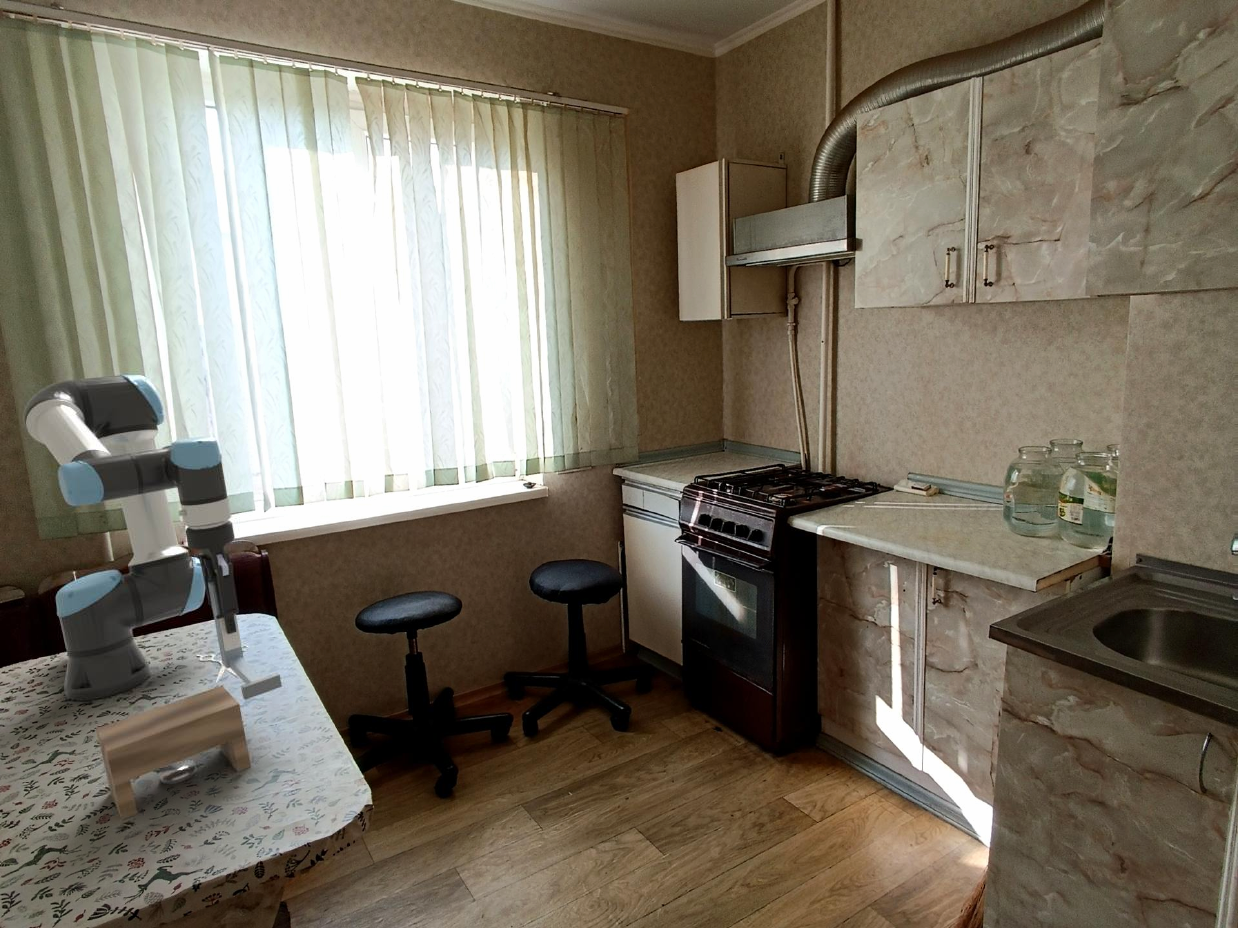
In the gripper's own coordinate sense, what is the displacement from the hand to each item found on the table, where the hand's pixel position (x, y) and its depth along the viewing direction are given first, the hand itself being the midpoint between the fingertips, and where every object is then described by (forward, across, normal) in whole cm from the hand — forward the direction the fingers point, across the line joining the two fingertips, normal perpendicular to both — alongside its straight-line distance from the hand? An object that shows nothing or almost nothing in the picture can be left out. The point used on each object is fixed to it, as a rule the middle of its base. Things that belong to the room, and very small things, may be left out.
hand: (230, 645), depth 141 cm
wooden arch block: (+13, +18, -14) cm, 26 cm away
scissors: (+14, -27, +4) cm, 31 cm away
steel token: (+13, +16, -14) cm, 25 cm away
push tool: (+4, +8, 0) cm, 9 cm away
